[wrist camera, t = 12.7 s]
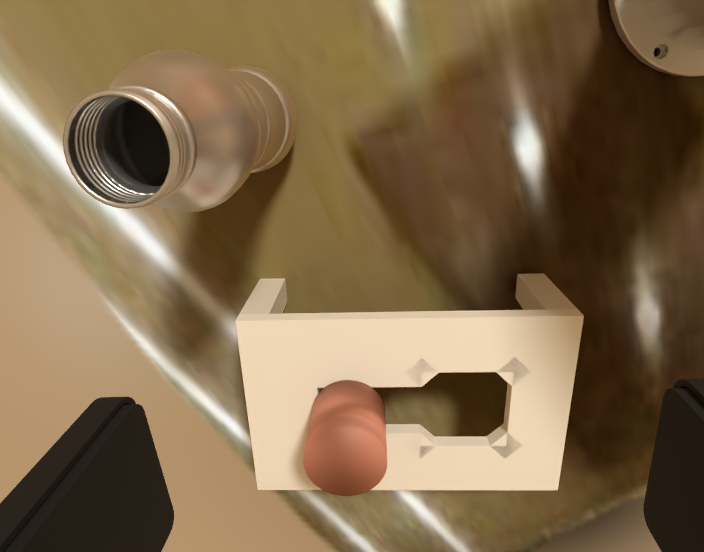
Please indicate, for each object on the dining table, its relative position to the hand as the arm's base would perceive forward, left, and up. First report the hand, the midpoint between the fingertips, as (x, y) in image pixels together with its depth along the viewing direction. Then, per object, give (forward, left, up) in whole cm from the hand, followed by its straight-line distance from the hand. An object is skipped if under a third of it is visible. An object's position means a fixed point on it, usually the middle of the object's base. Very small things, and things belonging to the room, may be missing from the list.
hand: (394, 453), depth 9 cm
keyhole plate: (-2, +14, -28) cm, 32 cm away
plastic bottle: (+8, -5, -28) cm, 30 cm away
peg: (+2, +14, -27) cm, 30 cm away
